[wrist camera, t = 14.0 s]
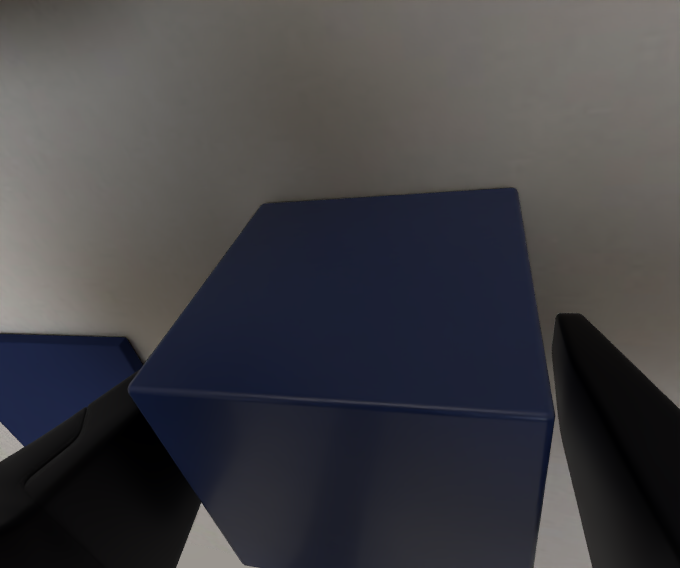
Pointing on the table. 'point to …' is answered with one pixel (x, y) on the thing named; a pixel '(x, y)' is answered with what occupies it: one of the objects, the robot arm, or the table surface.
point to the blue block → (364, 385)
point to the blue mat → (57, 378)
